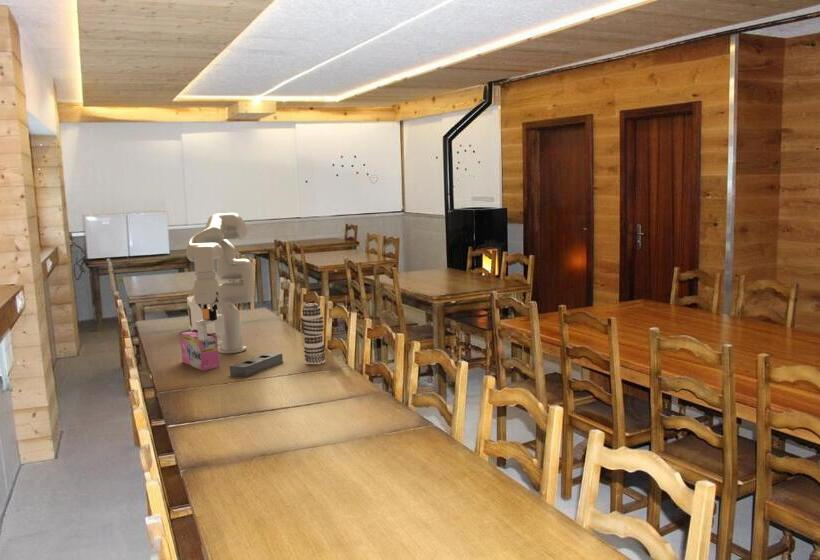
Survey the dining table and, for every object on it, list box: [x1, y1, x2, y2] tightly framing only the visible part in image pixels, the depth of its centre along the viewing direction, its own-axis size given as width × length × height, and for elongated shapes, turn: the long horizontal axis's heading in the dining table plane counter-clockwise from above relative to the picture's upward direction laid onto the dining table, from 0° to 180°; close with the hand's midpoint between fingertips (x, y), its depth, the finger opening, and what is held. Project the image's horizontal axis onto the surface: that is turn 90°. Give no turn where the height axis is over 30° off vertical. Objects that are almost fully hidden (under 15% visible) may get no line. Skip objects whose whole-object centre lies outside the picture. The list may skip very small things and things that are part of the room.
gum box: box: [179, 330, 220, 372], centre depth 324 cm, size 24×8×14 cm, turn 39°
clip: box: [196, 307, 224, 341], centre depth 306 cm, size 3×14×12 cm, turn 152°
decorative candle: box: [300, 302, 326, 365], centre depth 315 cm, size 9×9×25 cm
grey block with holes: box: [229, 351, 284, 378], centre depth 311 cm, size 8×24×4 cm, turn 152°
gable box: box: [186, 286, 219, 335], centre depth 399 cm, size 22×13×28 cm, turn 21°
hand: (210, 319), depth 306 cm, fingers closed on clip, 3 cm apart
